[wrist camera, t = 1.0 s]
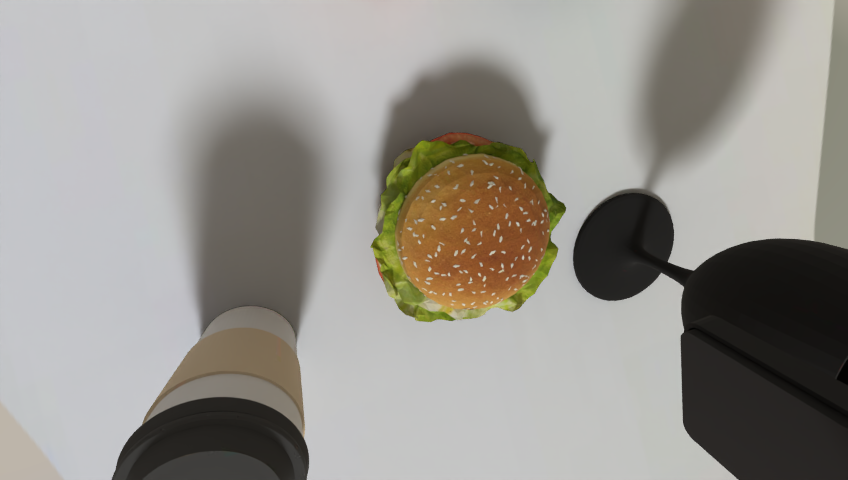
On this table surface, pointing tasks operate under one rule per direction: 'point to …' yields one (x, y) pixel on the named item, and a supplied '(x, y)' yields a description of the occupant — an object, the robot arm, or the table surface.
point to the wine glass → (725, 280)
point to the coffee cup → (227, 408)
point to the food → (464, 228)
